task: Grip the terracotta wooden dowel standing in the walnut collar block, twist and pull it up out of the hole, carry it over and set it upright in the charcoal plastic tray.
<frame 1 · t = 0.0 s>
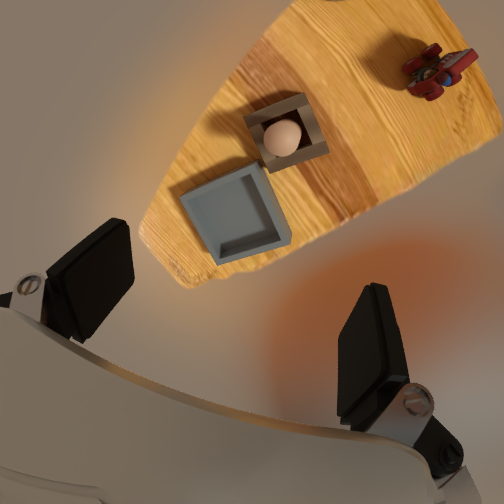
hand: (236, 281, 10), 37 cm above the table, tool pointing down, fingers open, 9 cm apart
red toy race car: (427, 73, 29), on the table
collar block: (288, 131, 40), on the table
dowel: (285, 134, 36), in the collar block
tray: (239, 211, 50), on the table
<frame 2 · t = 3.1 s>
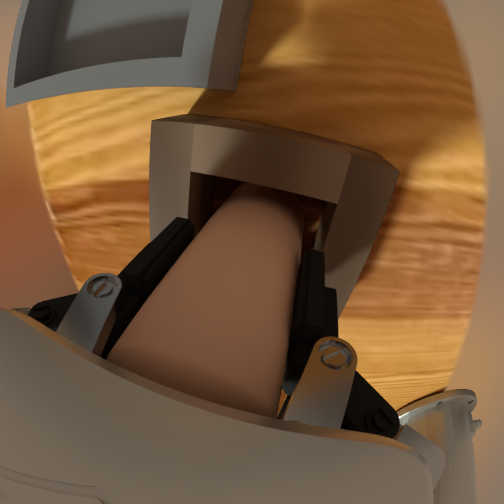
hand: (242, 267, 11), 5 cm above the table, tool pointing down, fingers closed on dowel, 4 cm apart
collar block: (264, 217, 15), on the table
dowel: (239, 276, 10), in the collar block, touching gripper
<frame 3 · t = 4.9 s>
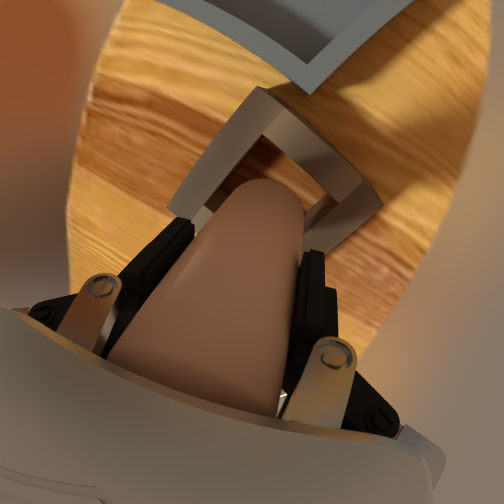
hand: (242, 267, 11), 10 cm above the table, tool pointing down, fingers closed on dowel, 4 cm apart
collar block: (275, 185, 19), on the table
dowel: (239, 276, 10), point 11 cm above the table, touching gripper
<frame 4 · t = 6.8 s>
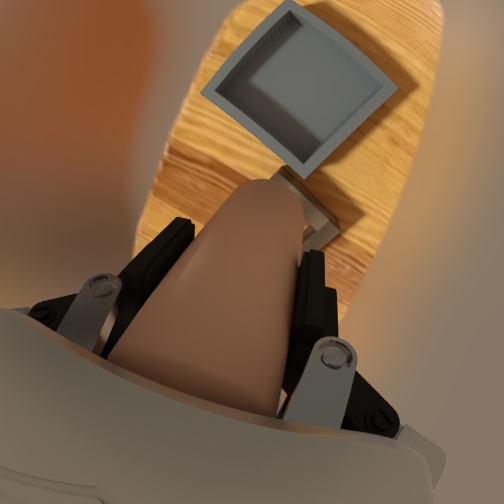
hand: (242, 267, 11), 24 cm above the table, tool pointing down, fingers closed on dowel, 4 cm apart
collar block: (284, 219, 35), on the table
dowel: (239, 276, 10), point 25 cm above the table, touching gripper
tray: (299, 86, 26), on the table
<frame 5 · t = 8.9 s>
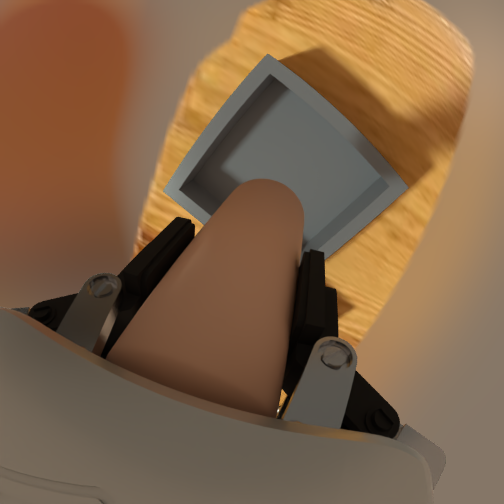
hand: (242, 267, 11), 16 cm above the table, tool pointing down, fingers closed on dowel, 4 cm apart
dowel: (238, 276, 10), point 17 cm above the table, touching gripper
tray: (284, 172, 24), on the table
when the fingers open (7 cm above the table, at t = 10.8 s): dowel drops 2 cm, resting on tray.
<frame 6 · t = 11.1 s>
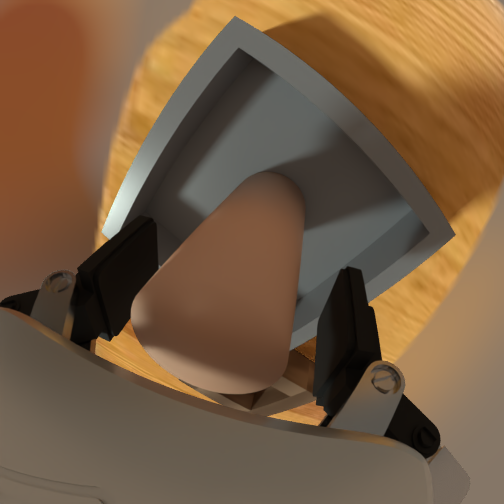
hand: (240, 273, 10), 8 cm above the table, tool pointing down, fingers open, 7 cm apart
collar block: (253, 363, 26), on the table
dowel: (248, 250, 11), in the tray, point 6 cm above the table
tray: (270, 201, 17), on the table
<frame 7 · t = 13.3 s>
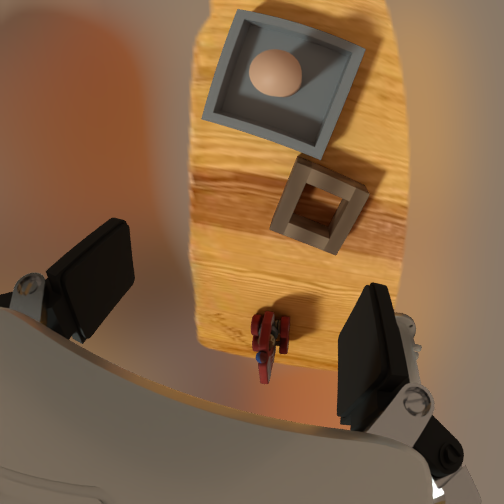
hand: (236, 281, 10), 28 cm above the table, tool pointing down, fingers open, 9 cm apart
red toy race car: (272, 325, 52), on the table
collar block: (317, 201, 37), on the table
dowel: (280, 77, 23), in the tray, point 6 cm above the table
tray: (283, 80, 29), on the table
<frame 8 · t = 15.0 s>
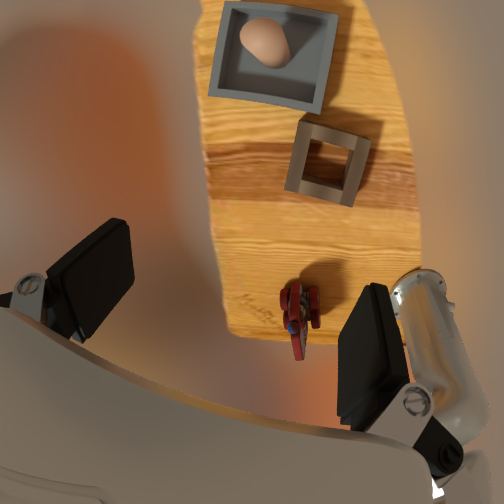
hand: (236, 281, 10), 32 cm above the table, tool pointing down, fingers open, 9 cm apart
red toy race car: (301, 300, 52), on the table
collar block: (326, 159, 37), on the table
dowel: (269, 46, 25), in the tray, point 6 cm above the table
tray: (275, 55, 30), on the table
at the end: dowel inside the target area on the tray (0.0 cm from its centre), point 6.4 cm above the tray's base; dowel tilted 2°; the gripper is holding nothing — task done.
